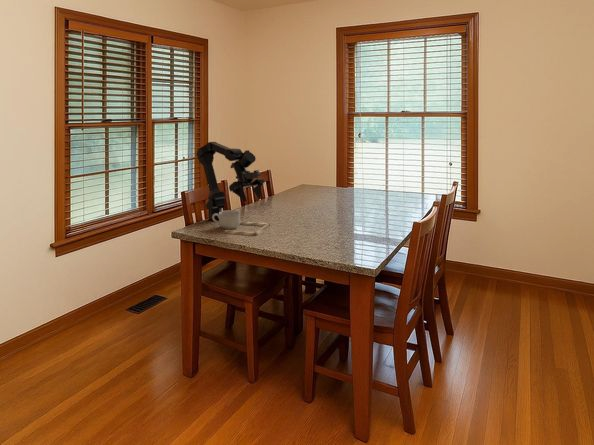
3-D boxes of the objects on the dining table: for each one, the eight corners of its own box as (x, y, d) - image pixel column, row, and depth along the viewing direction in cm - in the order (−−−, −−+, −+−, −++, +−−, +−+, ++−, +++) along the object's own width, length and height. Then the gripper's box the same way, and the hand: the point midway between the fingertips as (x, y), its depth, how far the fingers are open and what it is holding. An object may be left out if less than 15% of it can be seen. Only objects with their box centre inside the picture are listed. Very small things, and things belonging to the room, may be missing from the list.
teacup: (241, 225, 236) (241, 210, 235) (239, 230, 226) (239, 214, 224) (214, 225, 236) (213, 210, 234) (211, 230, 225) (210, 214, 224)
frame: (225, 233, 220) (224, 230, 220) (240, 223, 240) (240, 221, 239) (256, 235, 217) (256, 233, 216) (269, 225, 236) (269, 223, 235)
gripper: (235, 165, 215) (247, 195, 212) (264, 163, 228) (276, 191, 225) (223, 176, 222) (235, 205, 219) (252, 173, 235) (263, 200, 233)
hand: (253, 200), depth 224 cm, fingers open, 9 cm apart
